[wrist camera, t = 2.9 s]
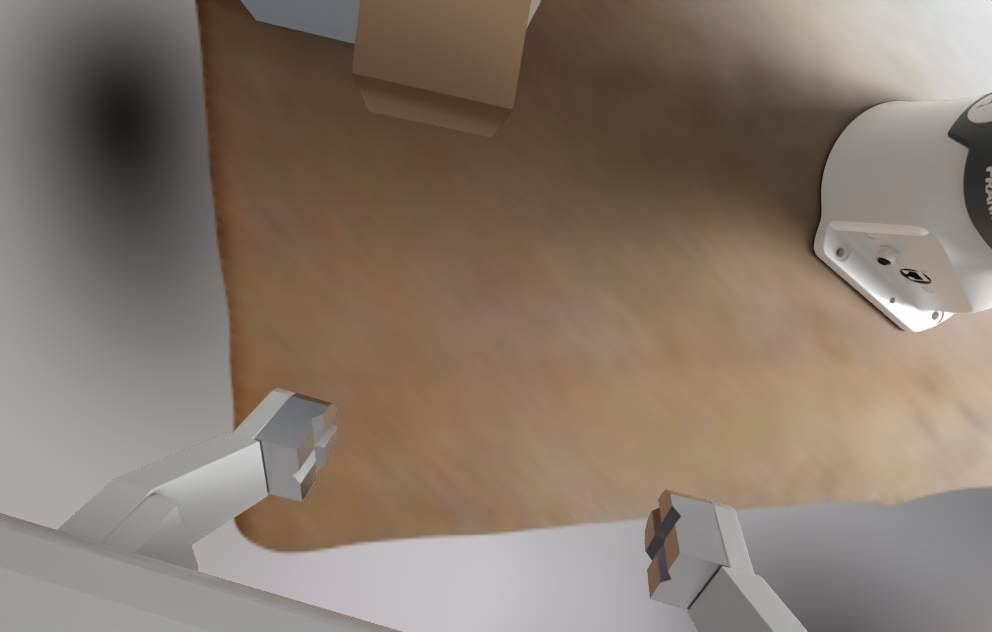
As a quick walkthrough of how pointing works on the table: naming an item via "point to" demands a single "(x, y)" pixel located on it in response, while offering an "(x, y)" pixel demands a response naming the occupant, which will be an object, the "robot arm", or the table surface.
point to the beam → (441, 60)
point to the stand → (319, 15)
